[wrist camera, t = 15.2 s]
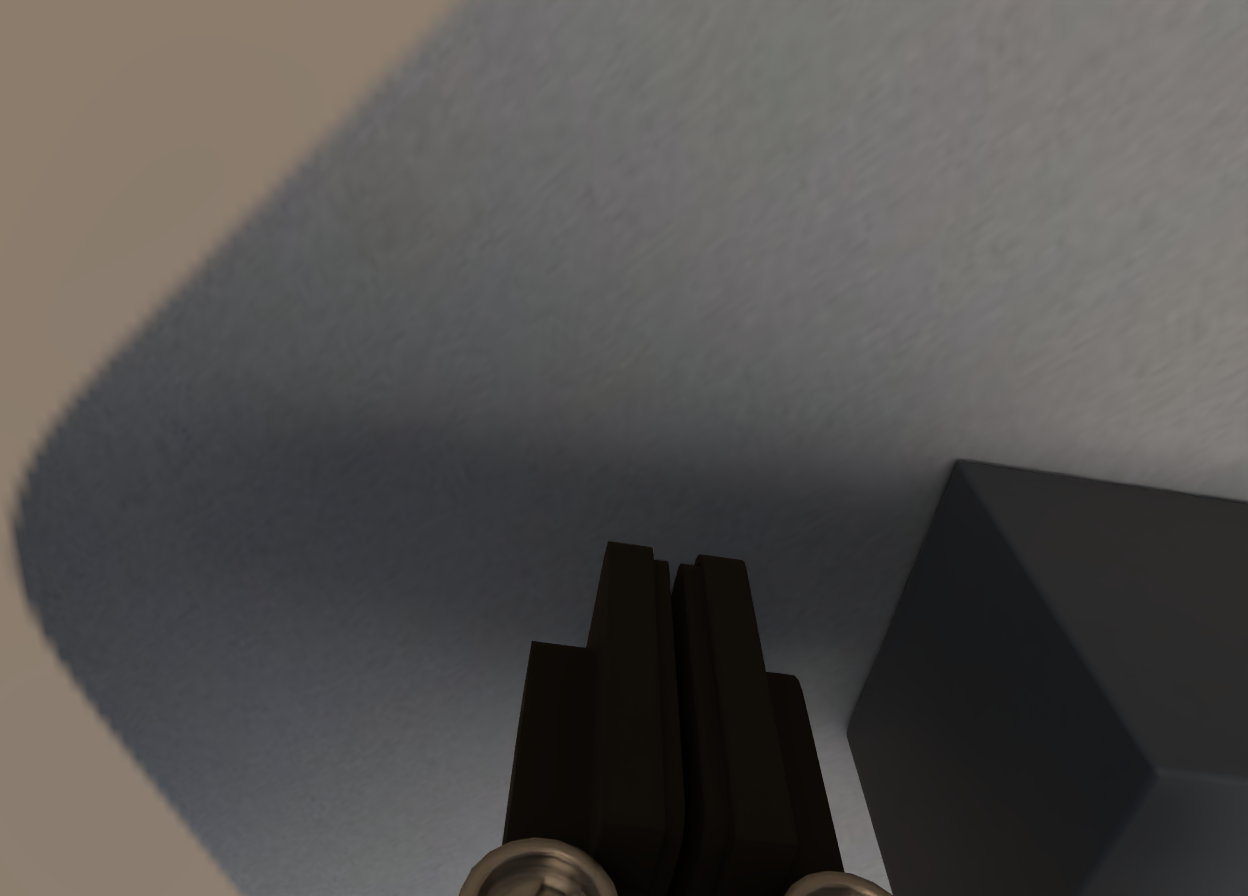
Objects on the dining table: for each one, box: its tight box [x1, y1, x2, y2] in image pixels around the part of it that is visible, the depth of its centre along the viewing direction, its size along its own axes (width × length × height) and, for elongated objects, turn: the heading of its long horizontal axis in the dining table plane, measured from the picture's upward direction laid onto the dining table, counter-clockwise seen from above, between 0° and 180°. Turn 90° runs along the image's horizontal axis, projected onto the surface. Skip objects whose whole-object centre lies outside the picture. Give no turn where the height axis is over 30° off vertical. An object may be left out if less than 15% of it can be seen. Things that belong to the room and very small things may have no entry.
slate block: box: [847, 462, 1248, 896], centre depth 11 cm, size 5×5×5 cm
